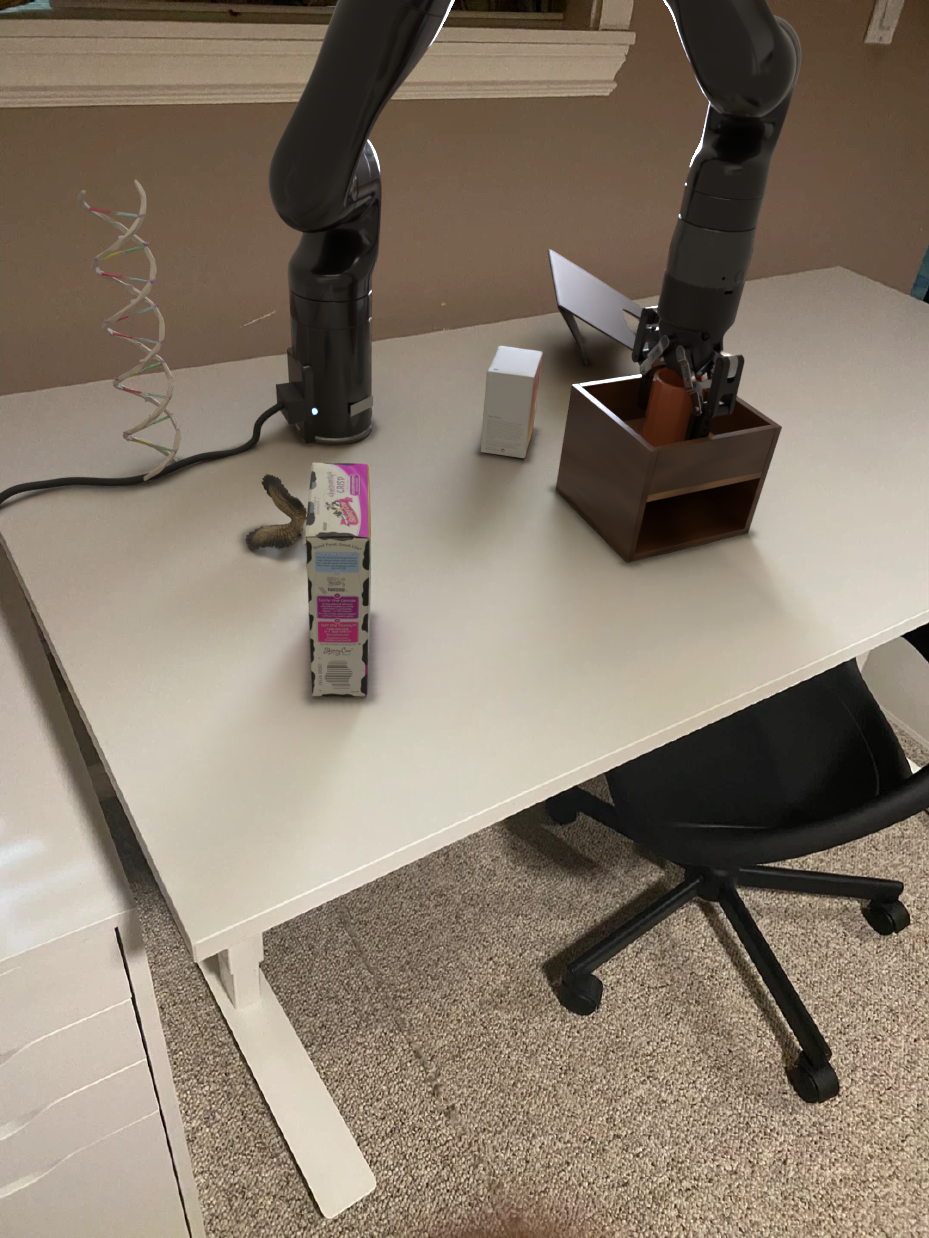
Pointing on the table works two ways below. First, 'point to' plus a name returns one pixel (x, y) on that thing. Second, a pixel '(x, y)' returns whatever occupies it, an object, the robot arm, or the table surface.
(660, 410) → the cup
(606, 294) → the laptop tray
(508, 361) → the small box
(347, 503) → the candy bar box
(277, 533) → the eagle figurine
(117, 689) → the table surface
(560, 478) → the box
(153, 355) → the dna model
